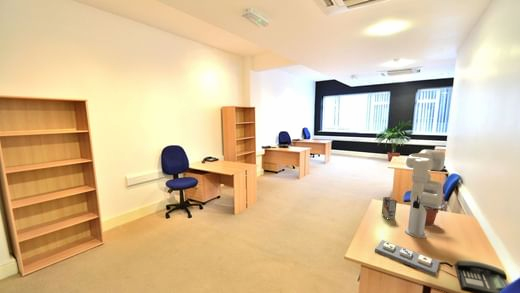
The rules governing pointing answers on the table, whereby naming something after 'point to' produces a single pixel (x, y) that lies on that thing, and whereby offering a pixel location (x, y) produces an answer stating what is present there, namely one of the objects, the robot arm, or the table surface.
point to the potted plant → (430, 215)
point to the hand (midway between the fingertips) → (415, 207)
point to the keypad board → (409, 261)
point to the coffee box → (389, 207)
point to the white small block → (406, 253)
